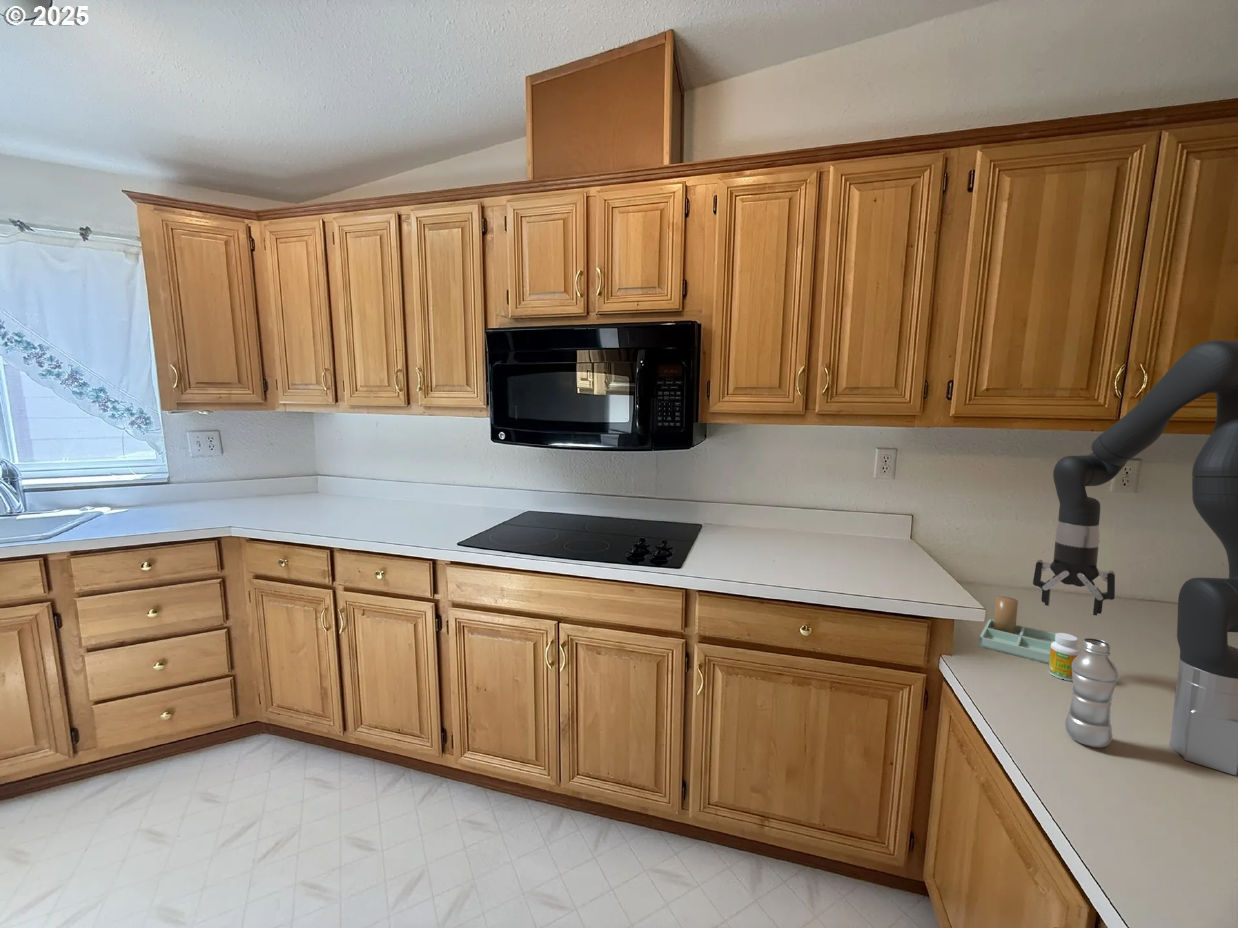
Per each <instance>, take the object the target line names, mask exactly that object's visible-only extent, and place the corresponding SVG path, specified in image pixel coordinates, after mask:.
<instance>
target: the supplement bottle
mask: <svg viewBox="0 0 1238 928" xmlns="http://www.w3.org/2000/svg"><path fill="white" fill-rule="evenodd" d="M1055 633H1056V635H1055V642H1052V643H1051V647H1050V659H1049V664H1048V673H1049V674H1050V675H1052V676H1053V677H1054V676H1055V677H1054V678H1057V679H1060V680H1062V679H1064V681H1069V682H1070V681H1071V682H1073V679H1072V661H1073V660H1074V658H1075V657H1077V656H1078V655H1079V654H1081V653H1082V652H1081V649H1080V648H1079V647H1078V644H1079V643H1078V641H1079V640H1078V637H1076V636H1075V635H1072V634H1070V633H1065V632H1055Z"/></svg>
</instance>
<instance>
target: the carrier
mask: <svg viewBox="0 0 1238 928" xmlns="http://www.w3.org/2000/svg"><path fill="white" fill-rule="evenodd" d="M994 621H995V619H993V618H988V621H987V622H986V624H985V626H984V628H983V630H982V632H981V633H980V636H979V637H978V647H981V648H984V649H987V650H992V651H996V652H1000V653H1004V654H1007V655H1012V656H1015V657H1019V658H1022V659H1023V658H1024V659H1027V660H1031V661H1035V662H1039V663H1043V664H1048V665H1049V659H1050V647H1051V643H1052V642H1055V635H1056V633H1057V632H1051V631H1046V630H1042V629H1037V628H1033V627H1028V626H1023V625H1019V624H1016V633H1015V634H1012V633H1007V632H1003V631H999V630H994Z"/></svg>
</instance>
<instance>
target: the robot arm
mask: <svg viewBox="0 0 1238 928" xmlns="http://www.w3.org/2000/svg"><path fill="white" fill-rule="evenodd" d="M1206 394H1215V399H1216V416H1215V423H1214V426H1213V429H1212V431H1211V433H1210V435H1209V436H1208V439H1207V440H1206V442H1205V443H1204V444H1203V446H1202V448H1201V449H1200V451H1199V452H1198V455H1197V456H1196V458H1195V460H1194V463H1193V465H1192V469H1191V470H1192V472H1191V477H1192V478H1191V481H1192V482H1191V485H1192V486H1191V488H1192V489H1191V491H1192V492H1191V493H1192V503H1193V506H1194V508H1195V509H1196V511H1197V512H1198V514H1199V516H1200V517H1201V518H1202V519H1203V521H1204V522H1205V523H1206V524H1207V526H1208V528H1210V529H1211V531H1212V532H1213V533H1214V534H1215V536H1216V537H1217V538H1218V539H1219V541H1220V542H1221V544H1222V546H1223V548H1224V550H1225V552H1226V553H1225V554H1226V556H1227V562H1228V578H1224V577H1223V578H1221V577H1192V578H1190V579H1187V580H1186V581H1184V583H1183V584H1182V585H1181V587H1180V590H1179V593H1178V600H1177V622H1176V623H1177V624H1176V625H1177V626H1176V638H1177V639H1176V640H1177V643H1178V646H1179V659H1178V660H1179V661H1178V667H1177V668H1178V670H1177V678H1176V686H1175V695H1174V702H1173V703H1174V704H1173V709H1172V710H1173V712H1172V720H1171V731H1170V739H1169V740H1170V741H1169V745H1170V747H1171V748H1172V749H1173V750H1174V751H1175V752H1177V753H1178V754H1179V755H1181V756H1182V757H1183V760H1185V761H1188V762H1190V763H1194V764H1197V765H1200V766H1202V767H1203V766H1204V767H1208V768H1210V769H1213V770H1216V771H1219V772H1223V773H1226V774H1229V775H1232V776H1237V775H1238V648H1237V647H1233V646H1232V645H1229V643H1228V641H1229V640H1228V633H1238V340H1209V341H1204V342H1201V343H1199V344H1196V345H1195V346H1193V347H1192V348H1190V349H1189V350H1187V351H1186V352H1185V353H1184V354H1182V356H1181V357H1179V358H1178V360H1177V361H1176V362H1175V363H1174V364H1173V365H1172V366H1171V367H1170V368H1169V369H1168V370H1167V371H1166V372H1165V373H1164V375H1163V376H1162V377H1161V378H1160V379H1159V380H1158V381H1157V382H1156V383H1155V384H1154V386H1153V387H1152V388H1151V389H1150V390H1149V391H1148V392H1147V393H1146V395H1145V396H1144V397H1142V399H1141V400H1140V401H1139V402H1138V403H1137V404H1136V405H1135V406H1134V407H1133V408H1132V409H1131V410H1130V411H1129V412H1128V413H1126V414H1125V415H1124V416H1122V417H1121V418H1120V419H1119V420H1118V421H1116V422H1115V423H1114V424H1112V425H1111V426H1110V427H1108V428H1107V429H1106V430H1105V431H1103V432H1102V433H1101V434H1100V435H1098V437H1096V438H1095V439H1094V440H1093V441H1092V443H1091V446H1090V447H1091V452H1092V453H1090V454H1088V455H1087V454H1086V455H1084V454H1083V455H1066V456H1064V457H1062V458H1060V459H1059V460H1058V461H1057V462H1056V463H1055V465H1054V468H1053V471H1052V478H1053V482H1054V486H1055V487H1054V488H1055V491H1056V495H1057V498H1058V503H1059V509H1058V521H1057V525H1056V529H1055V539H1054V541H1055V542H1054V550H1053V551H1054V552H1053V560H1052V562H1051V563H1050V562H1047V561H1043V560H1042V559H1038V560H1037V561H1036V563H1035V568H1034V574H1033V579H1032V585H1033V586H1034V587H1038V588H1040V589H1041V603H1044V606H1046V607H1047V606H1048V607H1049V606H1050V600H1051V599H1050V598H1051V588H1052V587H1054V586H1056V585H1057V584H1058V583H1059V582H1060V583H1062V584H1064V585H1068V586H1069V585H1071V586H1072V585H1073V586H1075V587H1079V588H1082V587H1086V588H1087V590H1088V591H1089V592H1090V593H1091V594H1092V595H1093V596H1094V598H1093V599H1094V602H1093V609H1092V610H1093V611H1092V612H1093V613H1092V615H1093V616H1098V614H1099V615H1101V614H1102V613H1103V612H1102V611H1103V605H1104V603H1103V602H1104V601H1105V600H1109V601H1110V600H1111V601H1113V600H1115V598H1116V597H1115V595H1116V573H1115V572H1114V571H1113V570H1109V571H1105V570H1099V569H1098V567H1097V566H1098V555H1099V544H1100V535H1101V534H1100V518H1101V502H1100V501H1099V500H1098V499H1097V498H1094V497H1090V496H1088V494H1087V493H1088V492H1087V490H1086V487H1097V486H1100V485H1104V484H1107V483H1108V482H1110V481H1111V480H1113V479H1114V478H1116V476H1117V475H1118V474H1119V473H1120V472H1121V470H1122V469H1123V468H1124V467H1125V466H1126V464H1127V463H1128V462H1129V461H1130V460H1132V458H1134V457H1136V456H1138V455H1139V454H1140V453H1141V452H1144V451H1145V450H1146V449H1147V448H1148V447H1150V446H1151V445H1153V444H1154V443H1155V442H1156V441H1157V440H1158V439H1159V438H1160V437H1161V436H1162V435H1163V433H1164V431H1165V430H1166V427H1167V426H1168V424H1169V422H1170V420H1171V419H1172V418H1173V417H1174V416H1175V414H1176V413H1177V412H1178V411H1179V410H1181V409H1182V408H1183V407H1185V406H1186V405H1188V404H1190V403H1192V402H1193V401H1195V400H1197V399H1199V398H1200V397H1202V396H1204V395H1206ZM1047 569H1050V570H1051V571H1052V573H1053V576H1051V577H1050V578H1049V579H1048V580H1047V581H1043V580H1042V574H1043V572H1046V571H1047ZM1098 577H1101V579H1102V580H1103V582H1106V584H1107V585H1106V587H1107V588H1106V592H1105V591H1104V592H1103V591H1102V590H1101V589H1100V588H1099V587H1098V586H1097V584H1096V583H1095V582H1094V580H1096V579H1097V578H1098Z"/></svg>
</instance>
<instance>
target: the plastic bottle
mask: <svg viewBox="0 0 1238 928" xmlns="http://www.w3.org/2000/svg"><path fill="white" fill-rule="evenodd" d="M1081 649H1082V650H1083V651H1082V652H1081V654H1079V655H1078V656H1077V657H1075V658H1074V660H1073V661H1072V679H1073V681H1072V697H1071V702H1070V707H1069V710H1068V711H1067V714H1066V718H1065V721H1064V723H1065V730H1066V733H1067V734H1068V735H1069V737H1070V738H1072V740H1074V741H1076V742H1078V743H1080V744H1083V745H1084V746H1088V747H1092V748H1097V749H1098V748H1099V749H1101V748H1105V747H1107V746H1109V745H1111V741H1112V740H1113V726H1112V724H1111V723H1112V722H1111V717H1112V715H1111V713H1112V712H1111V706H1112V701H1113V696H1114V692H1115V689H1116V687H1117V683H1118V680H1119V677H1120V675H1119V671H1118V668H1117V667H1116V665H1115V664H1114V662H1113V661H1112V660H1111V658H1110V656H1111V644H1110V643H1109V642H1107V641H1105V640H1102V639H1098V638H1094V637H1093V638H1092V637H1085V638H1083V640H1082V645H1081Z"/></svg>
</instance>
